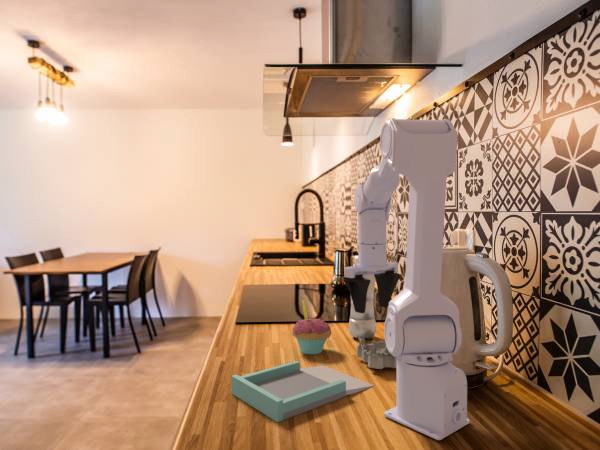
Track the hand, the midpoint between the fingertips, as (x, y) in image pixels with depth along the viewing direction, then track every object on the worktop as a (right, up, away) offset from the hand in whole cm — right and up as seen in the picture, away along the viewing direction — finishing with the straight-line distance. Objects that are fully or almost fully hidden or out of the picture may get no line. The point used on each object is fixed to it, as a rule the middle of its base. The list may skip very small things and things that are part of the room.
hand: (372, 309), depth 89 cm
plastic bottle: (0, -10, +16) cm, 19 cm away
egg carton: (-1, -11, -4) cm, 12 cm away
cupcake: (-12, -11, +6) cm, 17 cm away
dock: (-15, -11, -15) cm, 24 cm away
